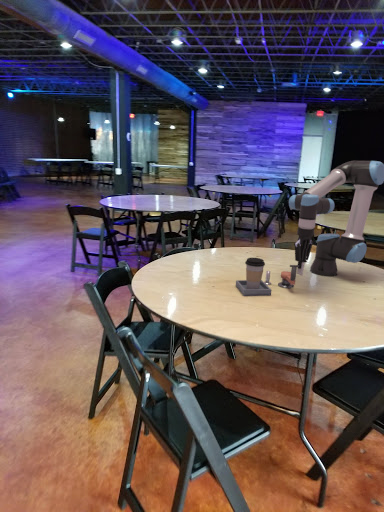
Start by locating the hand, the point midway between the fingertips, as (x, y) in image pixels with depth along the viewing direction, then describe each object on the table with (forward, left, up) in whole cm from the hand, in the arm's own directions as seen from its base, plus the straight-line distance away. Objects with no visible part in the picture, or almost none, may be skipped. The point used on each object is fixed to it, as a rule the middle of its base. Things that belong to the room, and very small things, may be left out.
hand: (299, 274), depth 169 cm
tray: (+23, -1, -9) cm, 25 cm away
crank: (+4, -4, -4) cm, 7 cm away
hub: (+3, -7, -9) cm, 12 cm away
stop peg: (+12, -11, -9) cm, 18 cm away
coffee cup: (+23, -1, -8) cm, 25 cm away
